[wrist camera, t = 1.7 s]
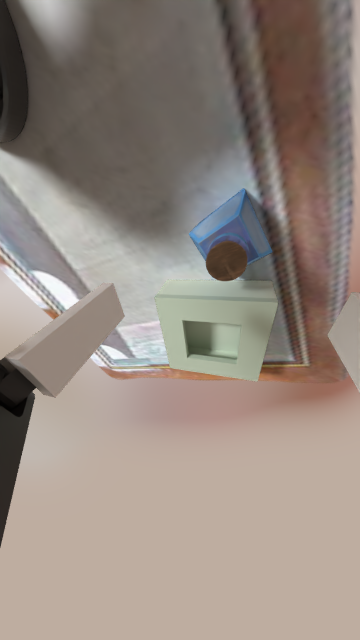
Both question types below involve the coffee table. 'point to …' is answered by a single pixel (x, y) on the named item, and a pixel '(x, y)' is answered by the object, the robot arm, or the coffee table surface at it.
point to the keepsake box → (217, 325)
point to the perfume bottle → (231, 238)
